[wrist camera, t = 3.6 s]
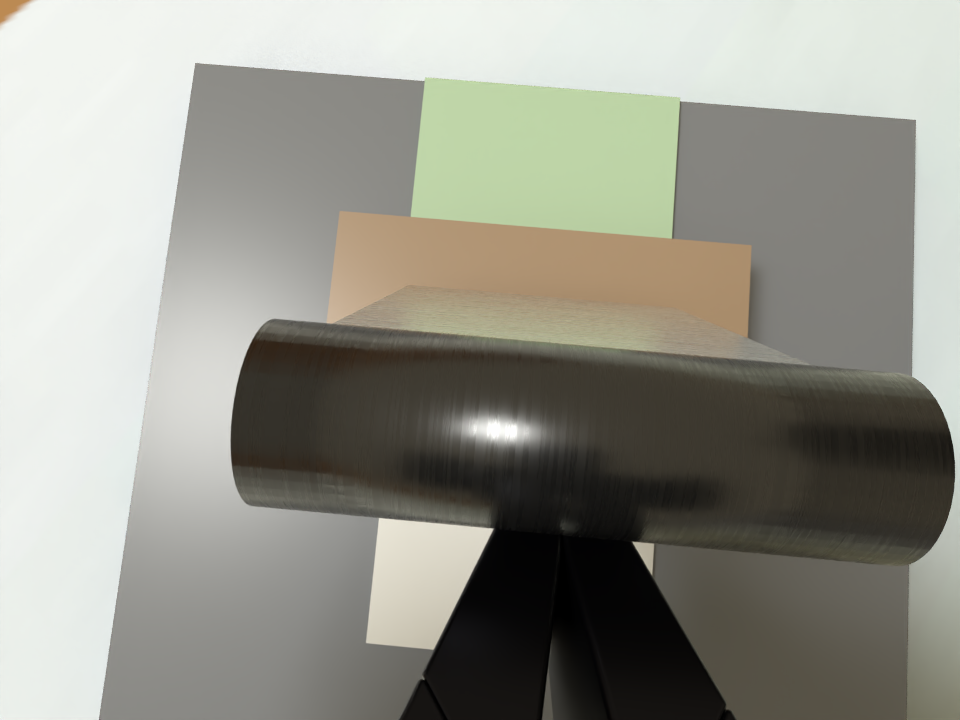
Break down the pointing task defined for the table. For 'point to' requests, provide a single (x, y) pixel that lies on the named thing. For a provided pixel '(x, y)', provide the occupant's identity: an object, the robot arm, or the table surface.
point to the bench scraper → (588, 429)
